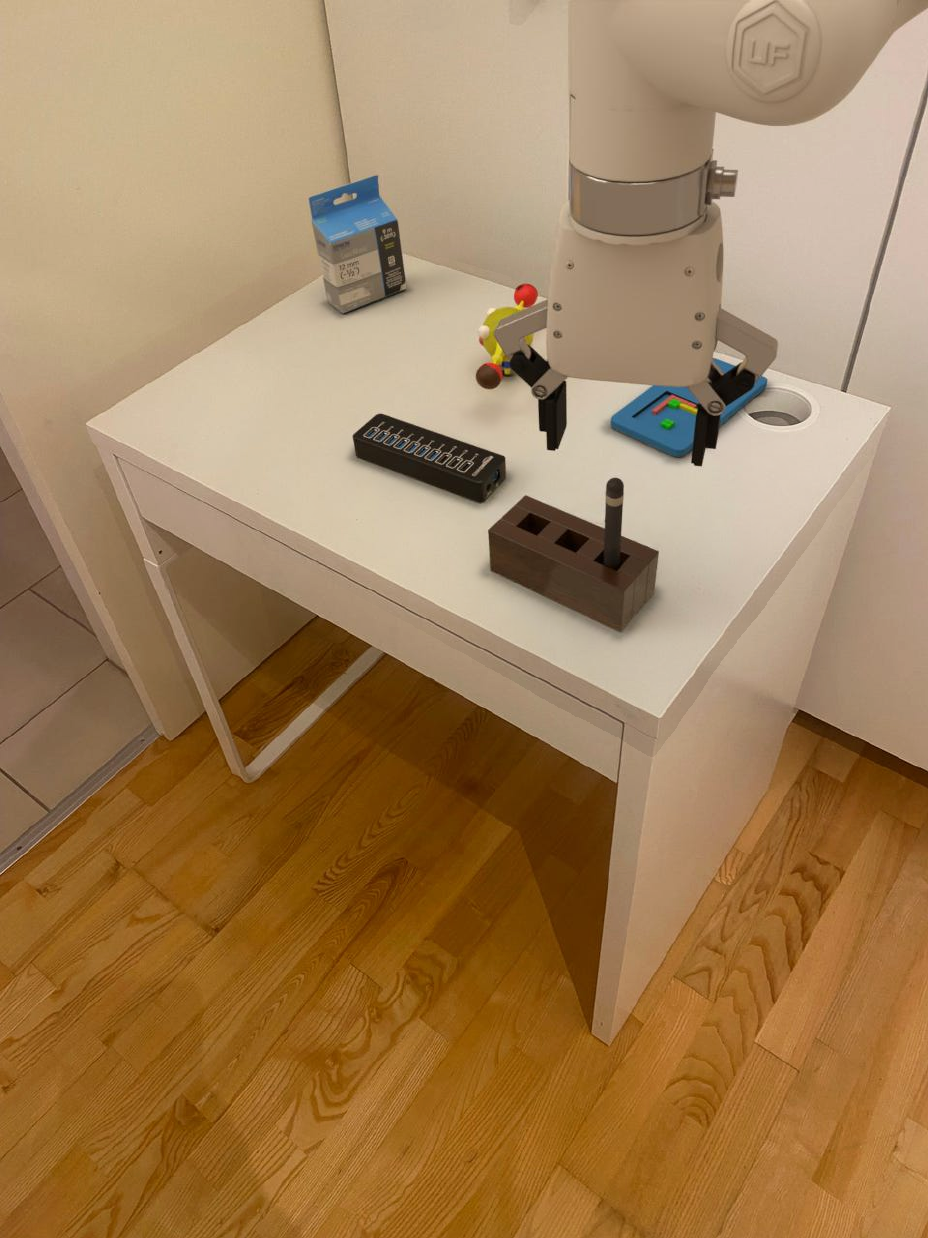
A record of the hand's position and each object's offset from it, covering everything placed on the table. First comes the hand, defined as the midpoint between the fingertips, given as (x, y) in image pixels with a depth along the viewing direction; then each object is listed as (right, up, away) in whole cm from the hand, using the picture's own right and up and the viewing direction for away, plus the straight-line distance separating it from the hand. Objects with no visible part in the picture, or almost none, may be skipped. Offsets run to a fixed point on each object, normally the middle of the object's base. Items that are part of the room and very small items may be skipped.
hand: (626, 446), depth 65 cm
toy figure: (-6, +14, +35) cm, 38 cm away
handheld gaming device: (+11, +9, +28) cm, 31 cm away
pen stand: (-2, -9, +13) cm, 16 cm away
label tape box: (-22, +26, +47) cm, 58 cm away
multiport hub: (-14, +2, +24) cm, 28 cm away
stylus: (+1, -10, +11) cm, 15 cm away
